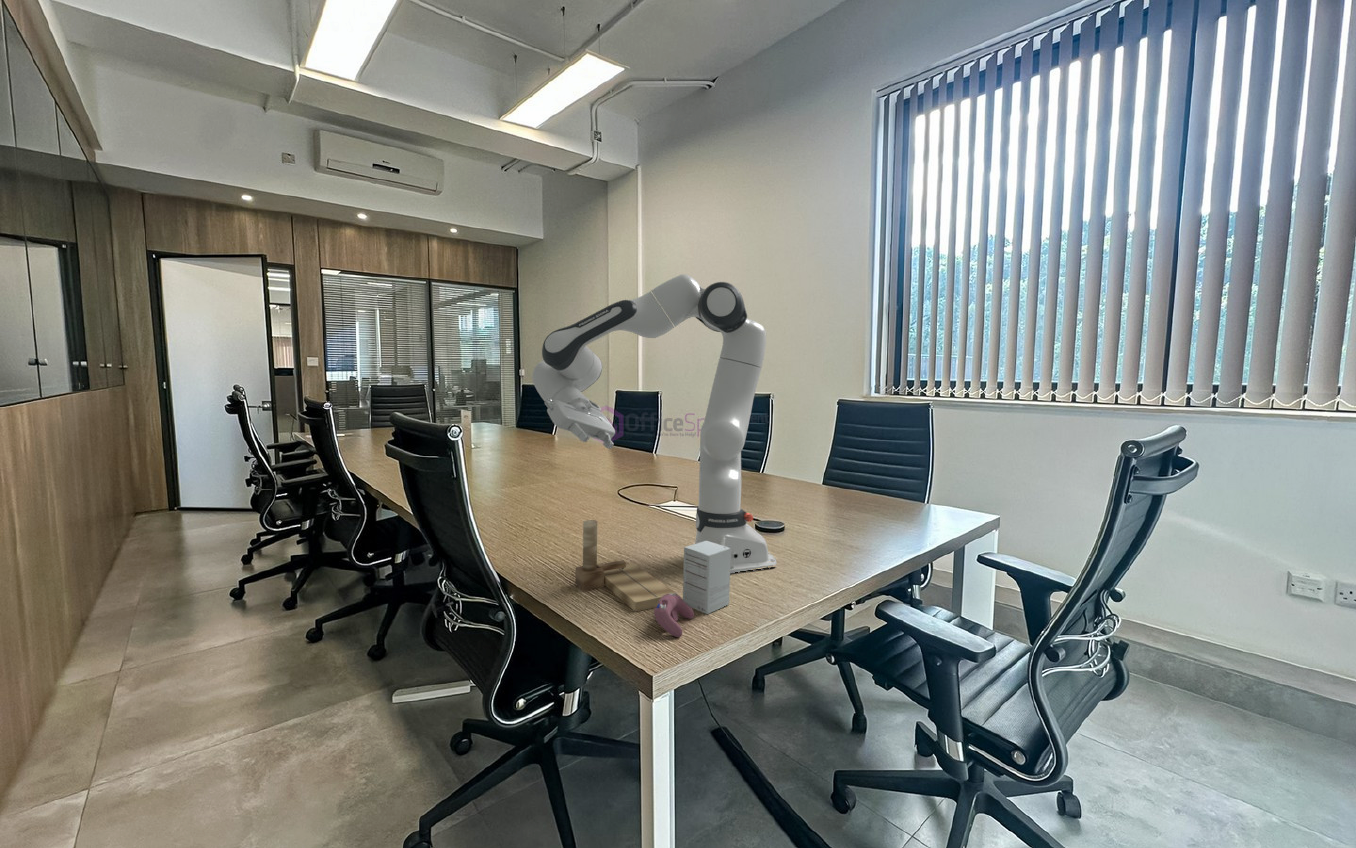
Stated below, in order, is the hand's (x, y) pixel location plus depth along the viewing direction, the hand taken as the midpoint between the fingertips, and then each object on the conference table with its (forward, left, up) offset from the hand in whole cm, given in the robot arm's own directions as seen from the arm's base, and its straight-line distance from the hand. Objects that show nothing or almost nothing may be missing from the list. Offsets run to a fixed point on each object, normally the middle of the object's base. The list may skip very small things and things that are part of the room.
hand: (598, 443), depth 131 cm
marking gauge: (-1, +8, -32) cm, 33 cm away
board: (-8, +12, -32) cm, 35 cm away
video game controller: (-13, +31, -32) cm, 47 cm away
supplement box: (-22, +23, -32) cm, 45 cm away
